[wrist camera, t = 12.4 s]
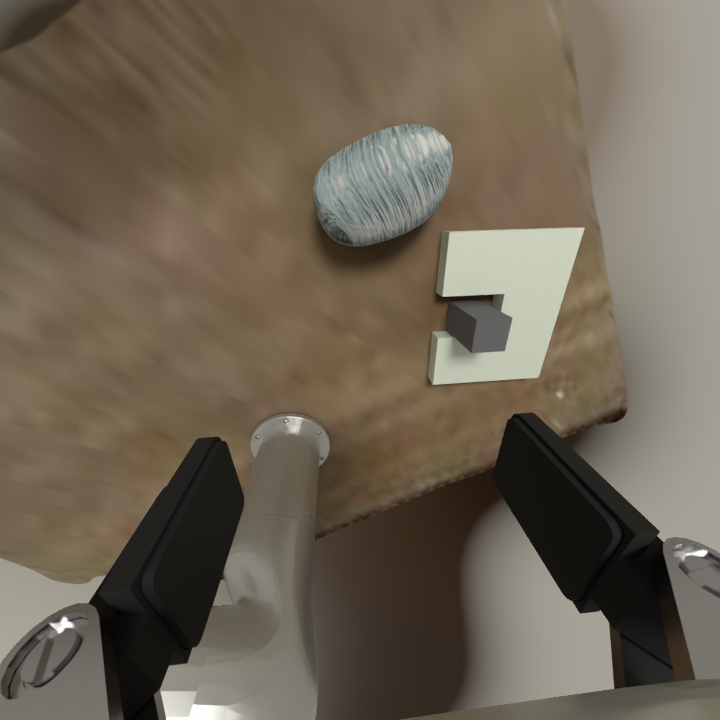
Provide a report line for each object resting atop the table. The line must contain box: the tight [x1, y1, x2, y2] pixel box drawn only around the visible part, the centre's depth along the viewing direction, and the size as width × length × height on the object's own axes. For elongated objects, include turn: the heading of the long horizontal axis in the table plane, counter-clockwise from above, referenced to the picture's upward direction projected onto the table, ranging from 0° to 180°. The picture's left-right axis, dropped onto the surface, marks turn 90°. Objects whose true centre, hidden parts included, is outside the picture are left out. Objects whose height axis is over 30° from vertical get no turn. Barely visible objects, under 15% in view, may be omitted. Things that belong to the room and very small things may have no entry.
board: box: [428, 228, 584, 385], centre depth 36 cm, size 20×16×2 cm
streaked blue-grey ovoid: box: [313, 124, 453, 246], centre depth 27 cm, size 14×10×10 cm
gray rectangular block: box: [446, 300, 512, 353], centre depth 34 cm, size 4×4×8 cm
